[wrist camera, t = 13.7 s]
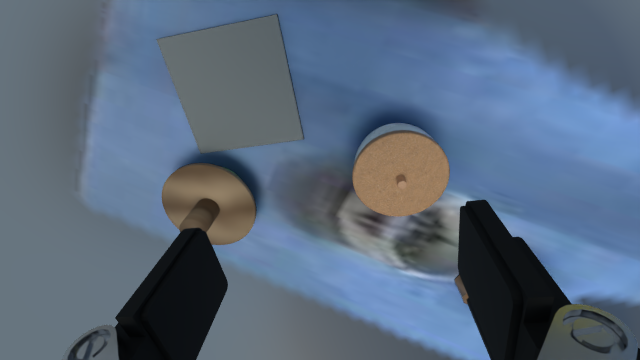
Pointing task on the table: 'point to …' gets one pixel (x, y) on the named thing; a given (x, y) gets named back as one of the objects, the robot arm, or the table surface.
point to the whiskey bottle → (467, 301)
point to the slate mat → (234, 84)
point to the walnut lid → (209, 202)
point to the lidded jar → (399, 170)
